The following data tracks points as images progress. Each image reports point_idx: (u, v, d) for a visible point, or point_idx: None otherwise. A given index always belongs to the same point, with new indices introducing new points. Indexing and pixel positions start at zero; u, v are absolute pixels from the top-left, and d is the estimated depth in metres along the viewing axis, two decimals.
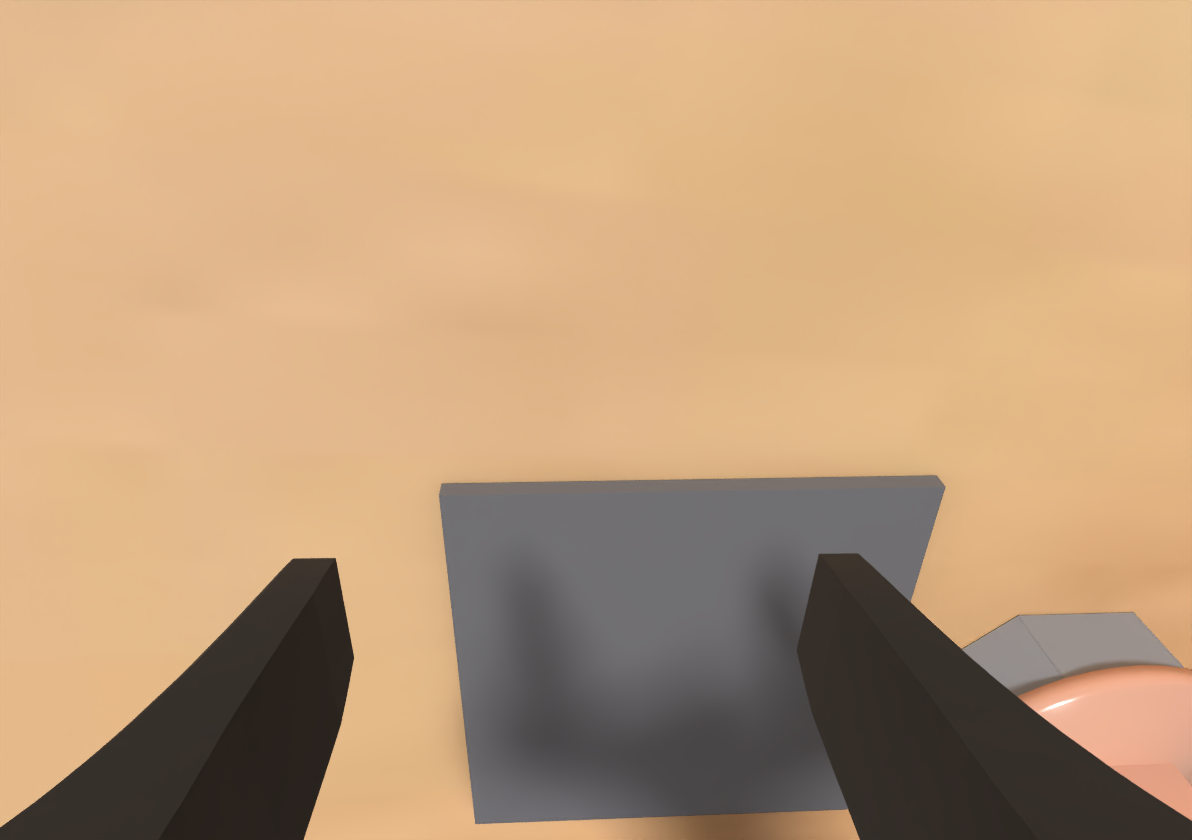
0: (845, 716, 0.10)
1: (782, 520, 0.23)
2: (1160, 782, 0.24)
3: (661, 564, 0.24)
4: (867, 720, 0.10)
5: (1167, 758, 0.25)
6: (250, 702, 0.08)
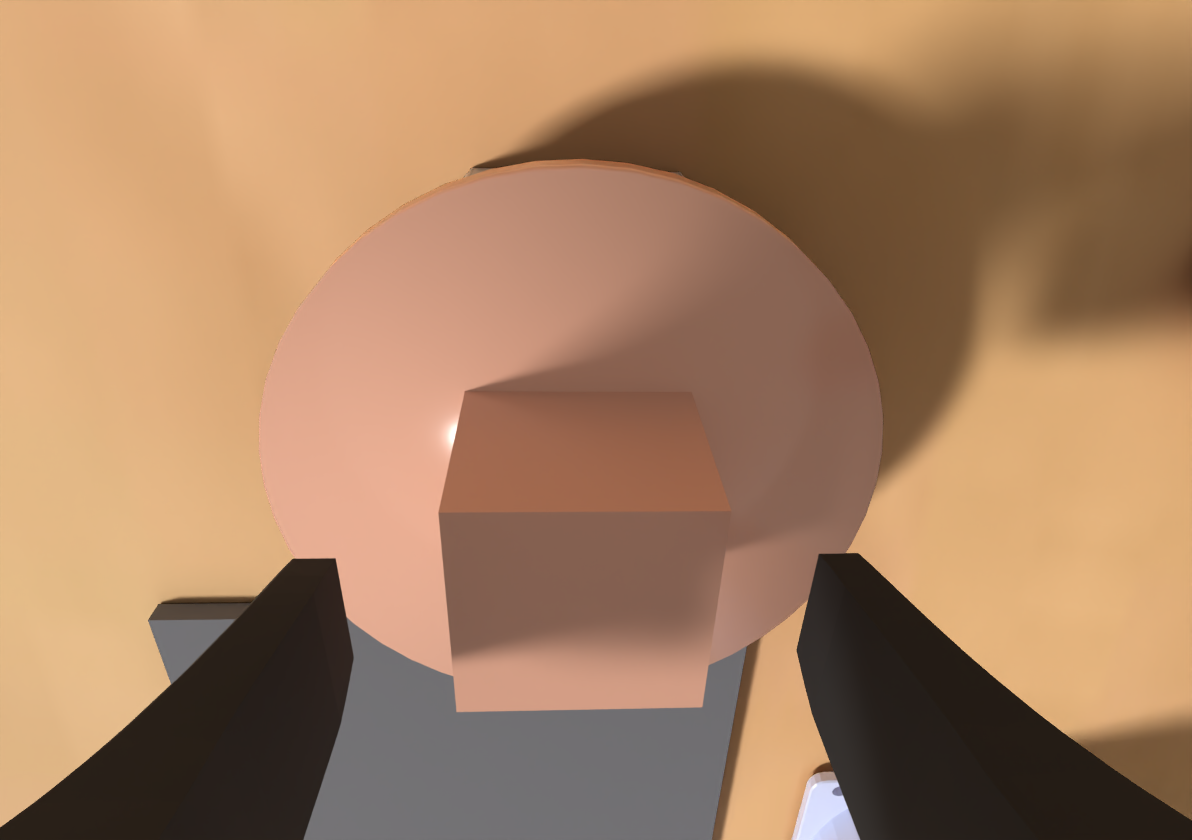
0: (845, 716, 0.10)
1: None
2: None
3: None
4: (867, 720, 0.10)
5: (450, 406, 0.13)
6: (250, 702, 0.08)
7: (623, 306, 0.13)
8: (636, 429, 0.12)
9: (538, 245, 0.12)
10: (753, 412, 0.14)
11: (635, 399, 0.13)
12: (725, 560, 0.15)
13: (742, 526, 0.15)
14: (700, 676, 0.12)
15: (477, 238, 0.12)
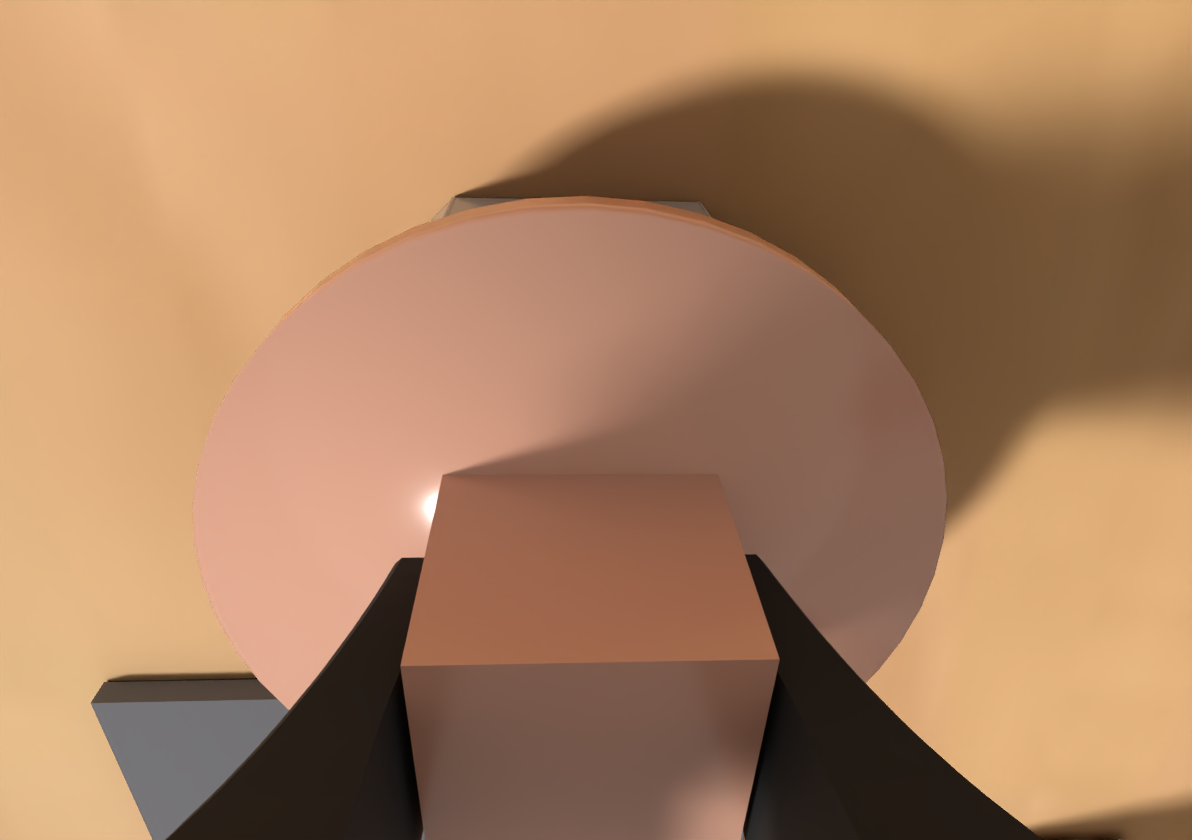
0: None
1: None
2: None
3: None
4: None
5: (425, 492, 0.11)
6: (394, 699, 0.08)
7: (636, 375, 0.10)
8: (653, 530, 0.10)
9: (531, 304, 0.10)
10: (791, 496, 0.11)
11: (650, 485, 0.11)
12: None
13: None
14: (733, 838, 0.10)
15: (454, 296, 0.10)
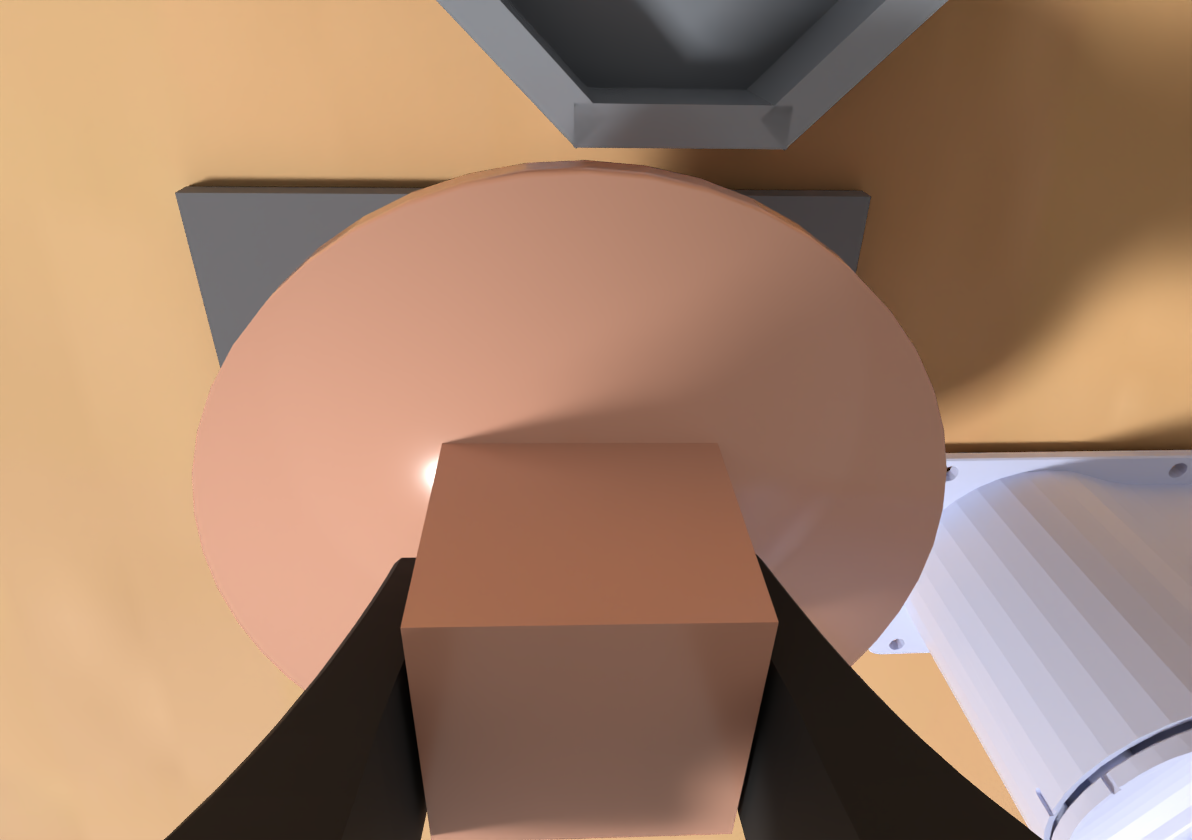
0: None
1: None
2: None
3: None
4: None
5: (424, 461, 0.11)
6: (393, 699, 0.08)
7: (636, 343, 0.10)
8: (652, 497, 0.10)
9: (530, 270, 0.10)
10: (791, 465, 0.11)
11: (650, 453, 0.11)
12: None
13: None
14: (731, 802, 0.10)
15: (452, 261, 0.09)
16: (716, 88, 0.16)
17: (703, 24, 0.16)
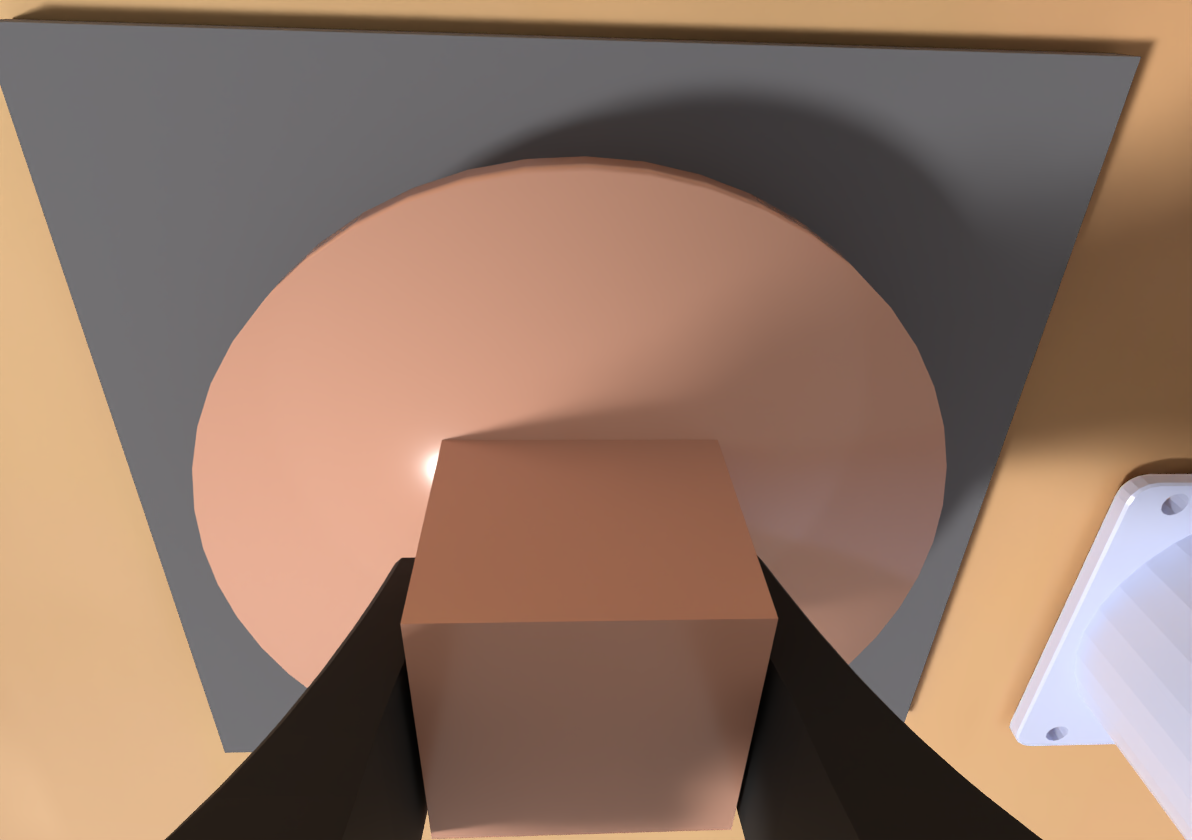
0: None
1: (162, 351, 0.12)
2: None
3: None
4: None
5: (424, 457, 0.11)
6: (393, 699, 0.08)
7: (636, 339, 0.10)
8: (652, 494, 0.10)
9: (530, 266, 0.10)
10: (791, 462, 0.11)
11: (649, 450, 0.11)
12: None
13: None
14: (730, 798, 0.10)
15: (452, 257, 0.09)
16: None
17: None
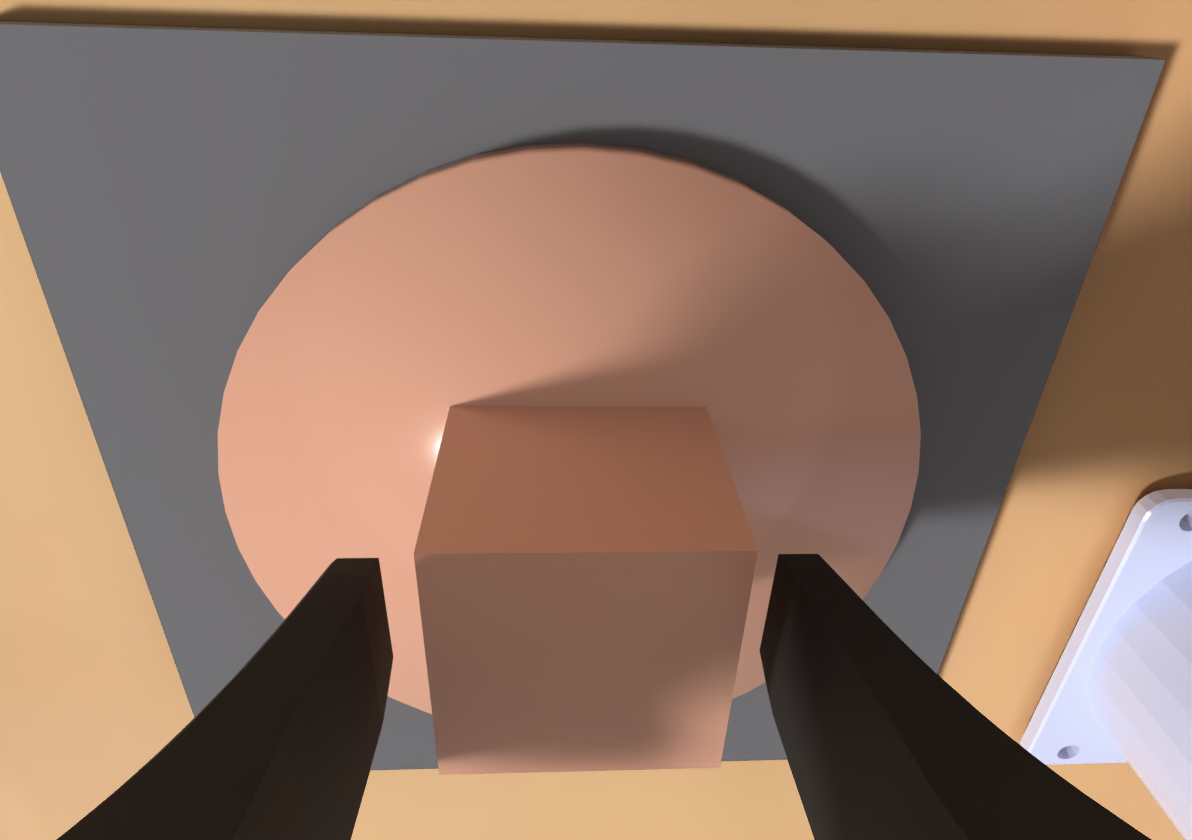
0: (801, 717, 0.10)
1: (144, 366, 0.12)
2: None
3: None
4: (821, 721, 0.10)
5: (433, 423, 0.12)
6: (307, 701, 0.08)
7: (629, 310, 0.11)
8: (644, 450, 0.11)
9: (532, 240, 0.10)
10: (775, 429, 0.12)
11: (642, 415, 0.12)
12: None
13: (761, 554, 0.13)
14: (718, 734, 0.10)
15: (460, 232, 0.10)
16: None
17: None
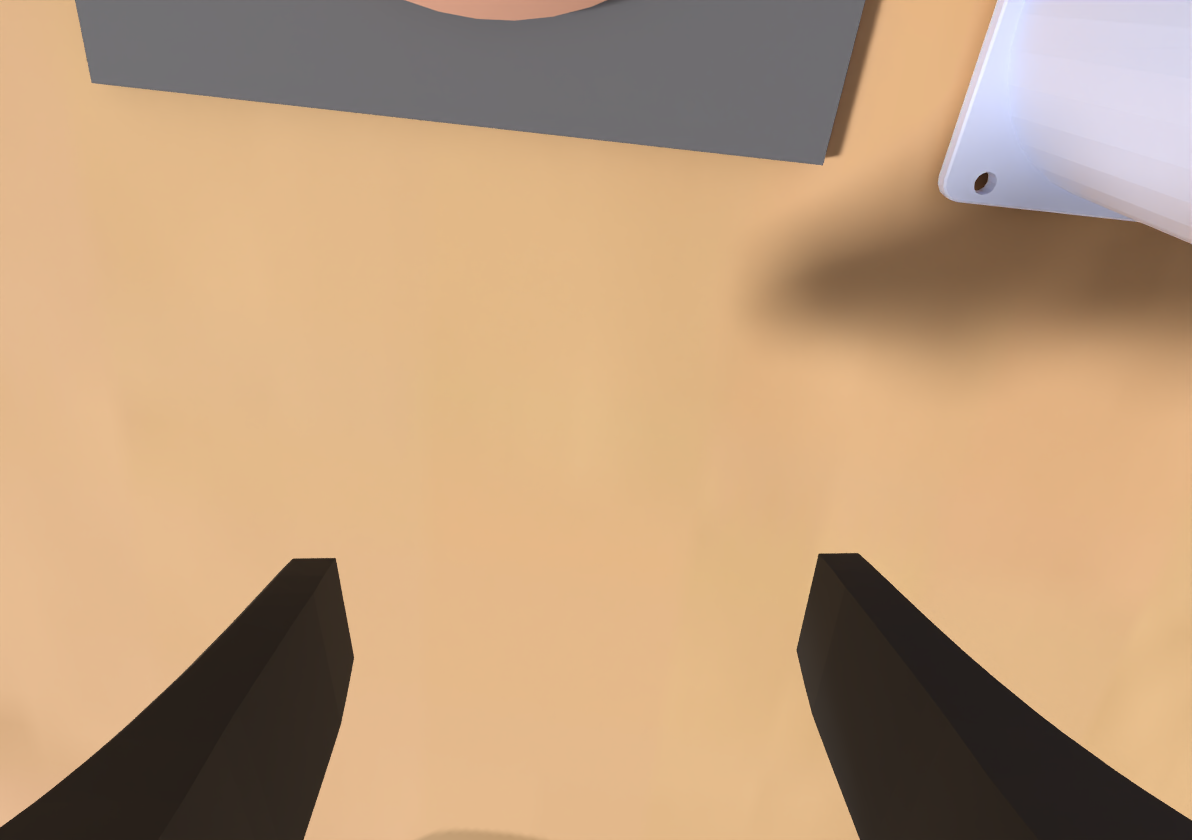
0: (845, 716, 0.10)
1: None
2: None
3: None
4: (867, 720, 0.10)
5: None
6: (250, 702, 0.08)
7: None
8: None
9: None
10: None
11: None
12: None
13: None
14: None
15: None
16: None
17: None
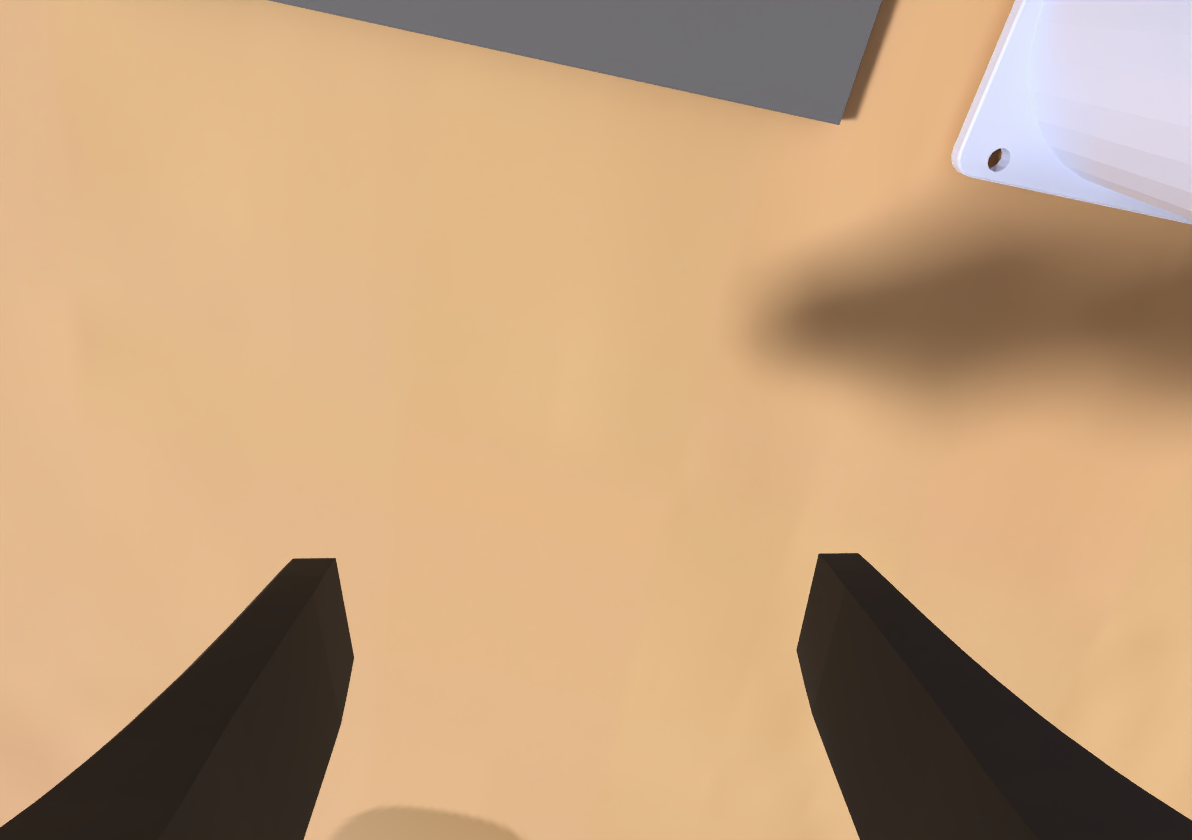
0: (845, 716, 0.10)
1: None
2: None
3: None
4: (867, 720, 0.10)
5: None
6: (250, 702, 0.08)
7: None
8: None
9: None
10: None
11: None
12: None
13: None
14: None
15: None
16: None
17: None
